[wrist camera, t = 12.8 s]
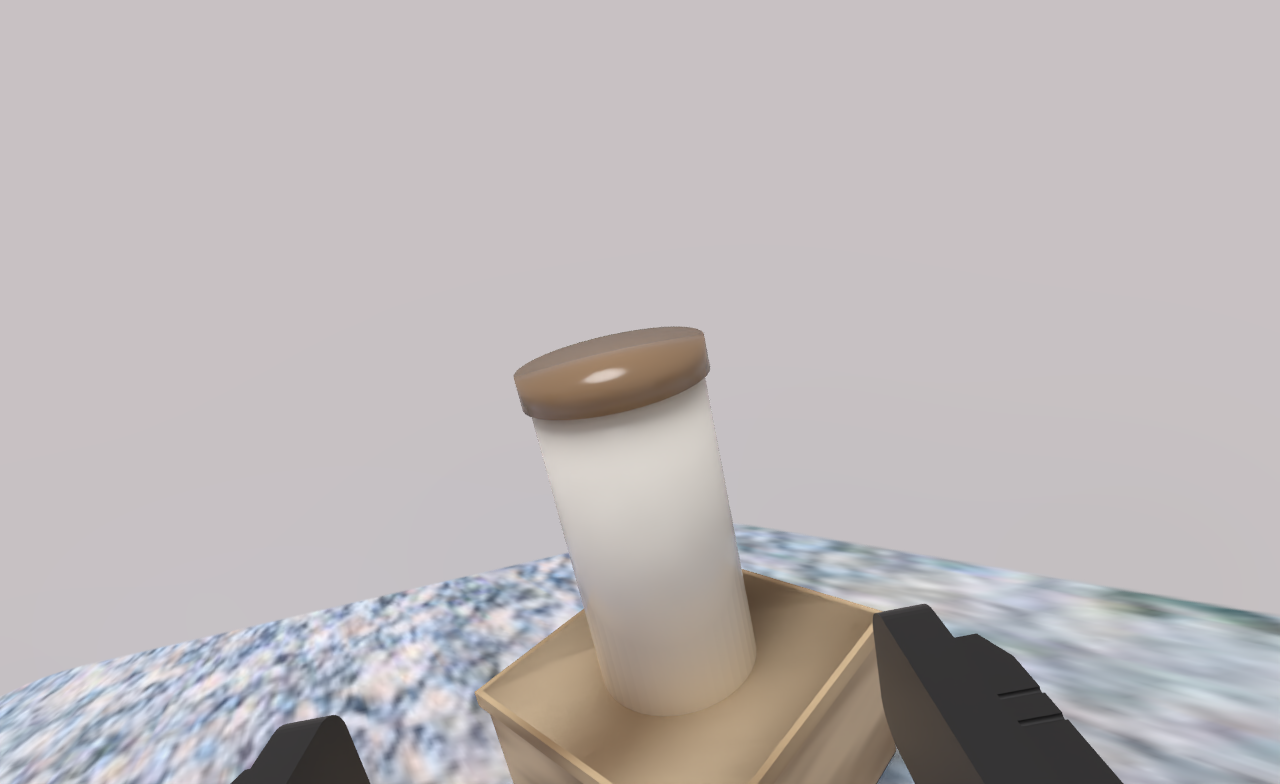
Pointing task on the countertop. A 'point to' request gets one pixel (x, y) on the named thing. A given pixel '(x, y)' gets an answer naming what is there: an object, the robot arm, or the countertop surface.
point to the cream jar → (645, 514)
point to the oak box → (721, 734)
